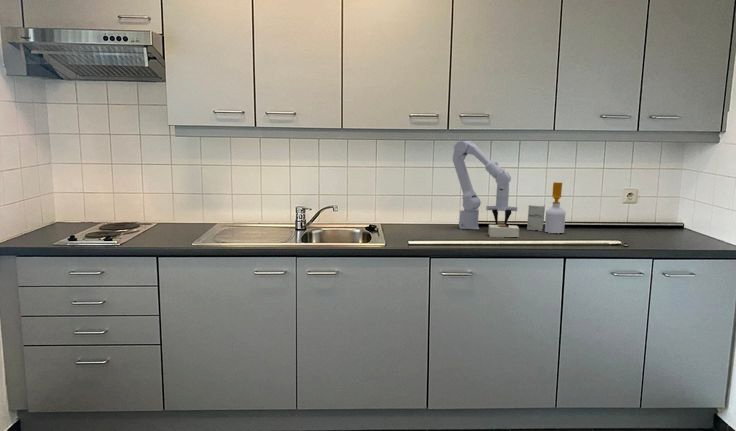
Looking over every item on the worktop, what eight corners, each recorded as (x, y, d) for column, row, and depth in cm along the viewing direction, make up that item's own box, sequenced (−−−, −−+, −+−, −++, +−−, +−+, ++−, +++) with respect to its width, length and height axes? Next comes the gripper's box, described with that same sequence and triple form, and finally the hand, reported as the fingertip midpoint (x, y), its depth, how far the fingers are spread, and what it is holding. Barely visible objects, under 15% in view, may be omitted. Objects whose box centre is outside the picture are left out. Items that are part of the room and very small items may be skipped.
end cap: (489, 236, 254) (490, 227, 253) (488, 233, 261) (488, 224, 261) (518, 238, 253) (519, 228, 252) (516, 235, 260) (516, 225, 259)
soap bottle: (544, 233, 265) (547, 182, 261) (544, 230, 273) (548, 180, 270) (564, 234, 262) (568, 183, 258) (563, 231, 271) (567, 181, 267)
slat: (498, 234, 262) (498, 225, 261) (495, 229, 273) (496, 221, 273) (505, 234, 261) (506, 226, 261) (502, 229, 273) (503, 221, 272)
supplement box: (526, 230, 273) (528, 205, 271) (528, 227, 279) (530, 203, 277) (542, 231, 270) (543, 206, 268) (543, 229, 277) (545, 204, 275)
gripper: (487, 198, 262) (486, 226, 264) (519, 199, 260) (517, 227, 263) (486, 196, 269) (485, 223, 271) (516, 197, 267) (515, 224, 270)
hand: (500, 225), depth 267 cm, fingers closed on slat, 3 cm apart
